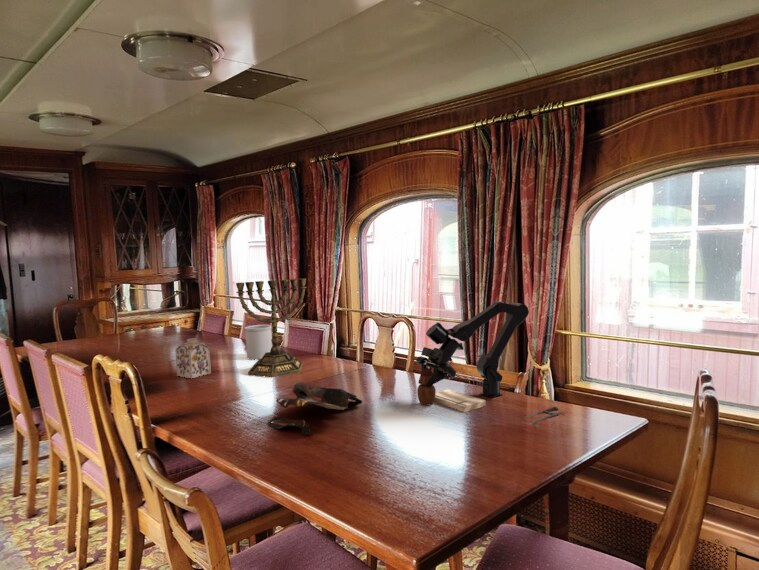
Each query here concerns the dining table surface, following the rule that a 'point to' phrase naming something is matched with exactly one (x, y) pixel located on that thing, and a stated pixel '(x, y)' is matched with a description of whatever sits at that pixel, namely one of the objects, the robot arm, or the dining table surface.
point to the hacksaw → (546, 416)
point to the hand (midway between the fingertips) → (423, 384)
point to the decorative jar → (193, 359)
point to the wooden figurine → (426, 389)
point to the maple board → (458, 400)
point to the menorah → (273, 328)
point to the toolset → (305, 397)
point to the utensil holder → (258, 340)
